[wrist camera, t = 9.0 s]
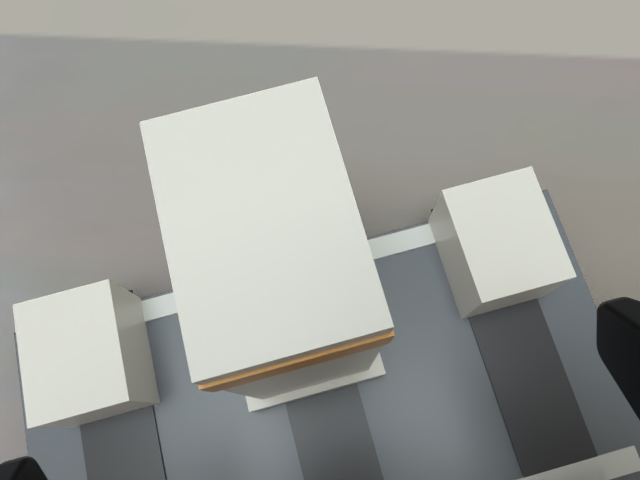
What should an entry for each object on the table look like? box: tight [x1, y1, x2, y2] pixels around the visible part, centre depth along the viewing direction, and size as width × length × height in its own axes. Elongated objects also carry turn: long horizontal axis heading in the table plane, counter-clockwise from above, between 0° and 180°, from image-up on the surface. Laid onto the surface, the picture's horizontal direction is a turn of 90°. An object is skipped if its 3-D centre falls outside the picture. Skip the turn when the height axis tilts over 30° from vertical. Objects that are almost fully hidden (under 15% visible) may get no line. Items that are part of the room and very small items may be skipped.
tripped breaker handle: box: [139, 77, 395, 412], centre depth 12 cm, size 4×4×8 cm
